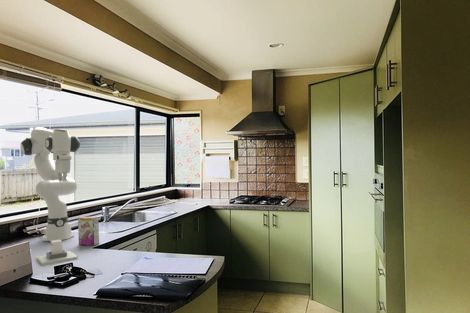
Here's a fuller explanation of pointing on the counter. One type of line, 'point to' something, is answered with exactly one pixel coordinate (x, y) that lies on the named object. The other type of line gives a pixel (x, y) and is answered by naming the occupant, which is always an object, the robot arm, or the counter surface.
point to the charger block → (56, 247)
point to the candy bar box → (88, 230)
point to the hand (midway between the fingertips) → (62, 181)
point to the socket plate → (56, 257)
